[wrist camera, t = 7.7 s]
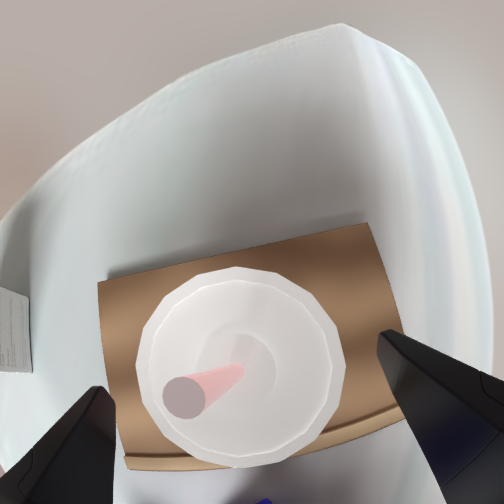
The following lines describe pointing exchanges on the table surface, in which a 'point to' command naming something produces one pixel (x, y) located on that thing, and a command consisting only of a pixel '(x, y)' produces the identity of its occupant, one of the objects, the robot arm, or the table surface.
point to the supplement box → (14, 333)
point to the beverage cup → (240, 367)
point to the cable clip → (264, 502)
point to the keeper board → (300, 273)
